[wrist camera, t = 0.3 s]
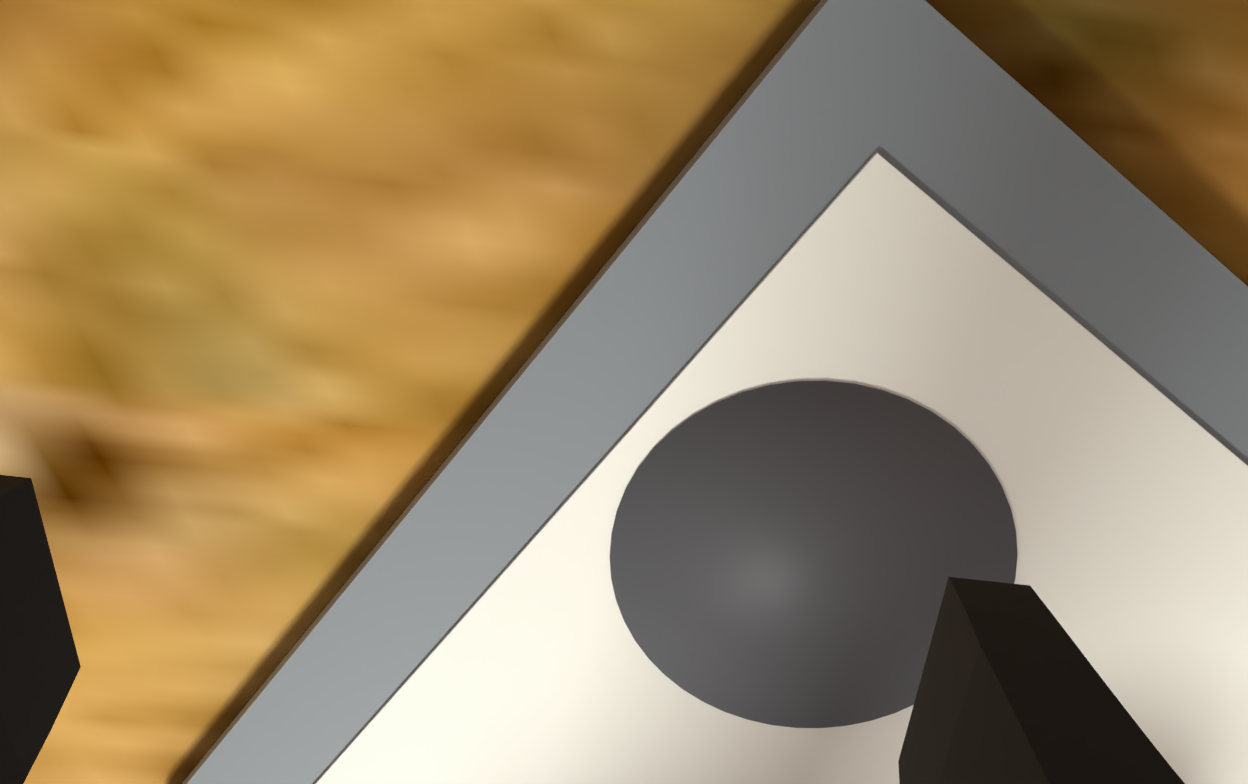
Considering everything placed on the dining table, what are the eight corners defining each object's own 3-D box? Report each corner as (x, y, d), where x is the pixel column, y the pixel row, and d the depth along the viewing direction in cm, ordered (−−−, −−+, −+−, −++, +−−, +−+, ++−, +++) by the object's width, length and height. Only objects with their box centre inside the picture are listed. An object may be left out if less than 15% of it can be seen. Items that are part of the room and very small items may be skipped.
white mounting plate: (854, 1227, 28) (858, 1269, 27) (163, 805, 25) (142, 839, 24) (1699, 689, 20) (1742, 724, 19) (862, -52, 17) (870, -50, 16)
